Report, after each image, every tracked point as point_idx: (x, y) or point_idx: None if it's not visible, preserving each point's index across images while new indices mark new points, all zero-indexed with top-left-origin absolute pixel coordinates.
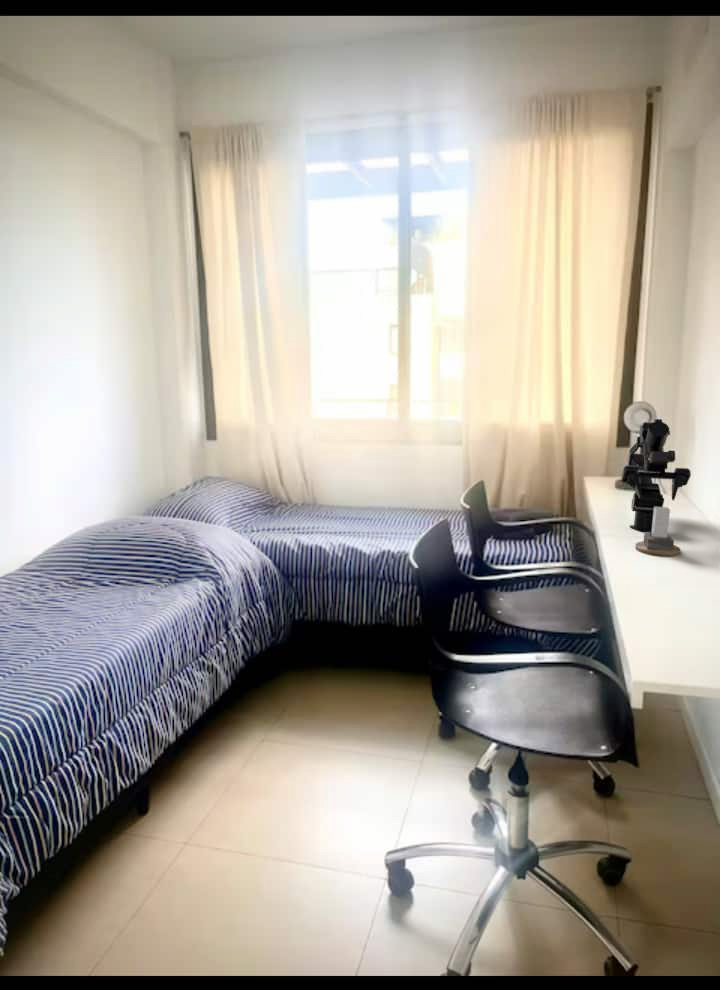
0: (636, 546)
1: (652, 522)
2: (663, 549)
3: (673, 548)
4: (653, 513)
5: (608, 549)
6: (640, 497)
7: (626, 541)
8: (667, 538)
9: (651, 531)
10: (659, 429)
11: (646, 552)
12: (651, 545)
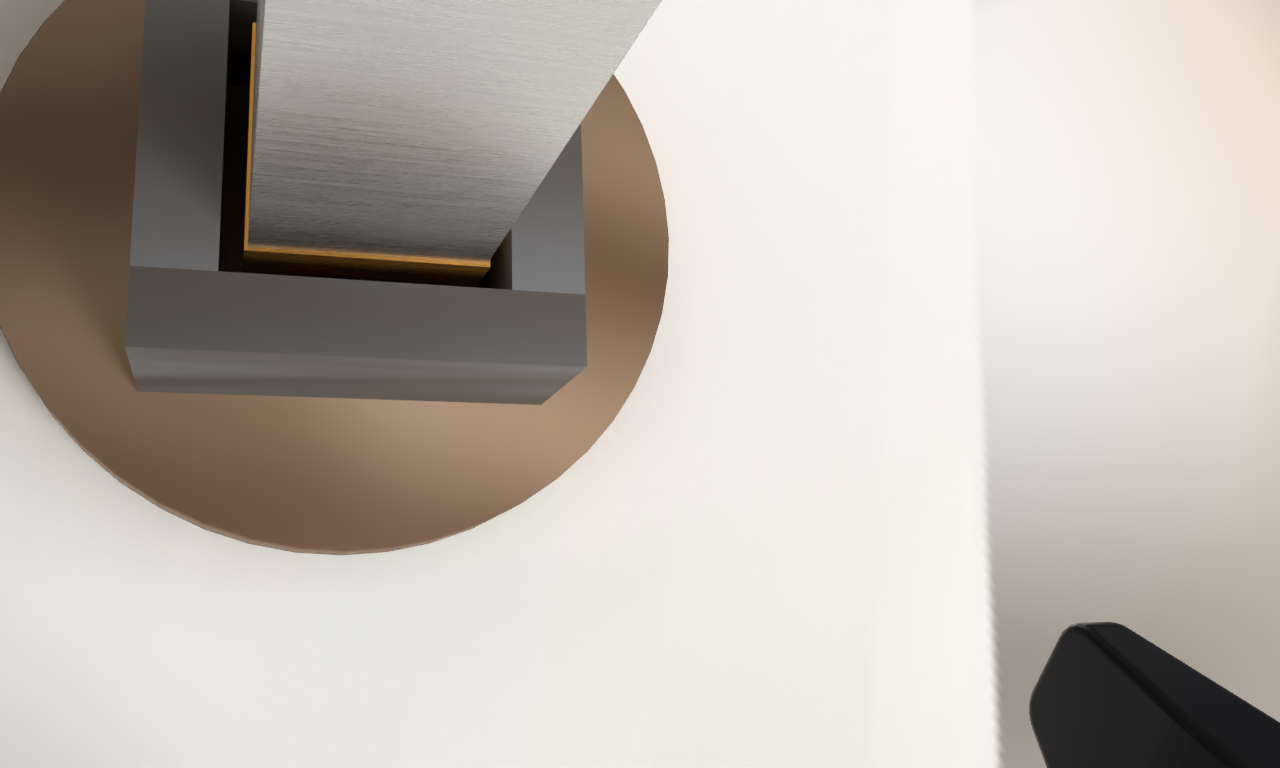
0: (662, 200)
1: (546, 167)
2: None
3: (104, 157)
4: (606, 72)
5: (967, 195)
6: (1082, 634)
7: (729, 662)
8: (225, 90)
9: (500, 243)
10: None
11: None
12: None
